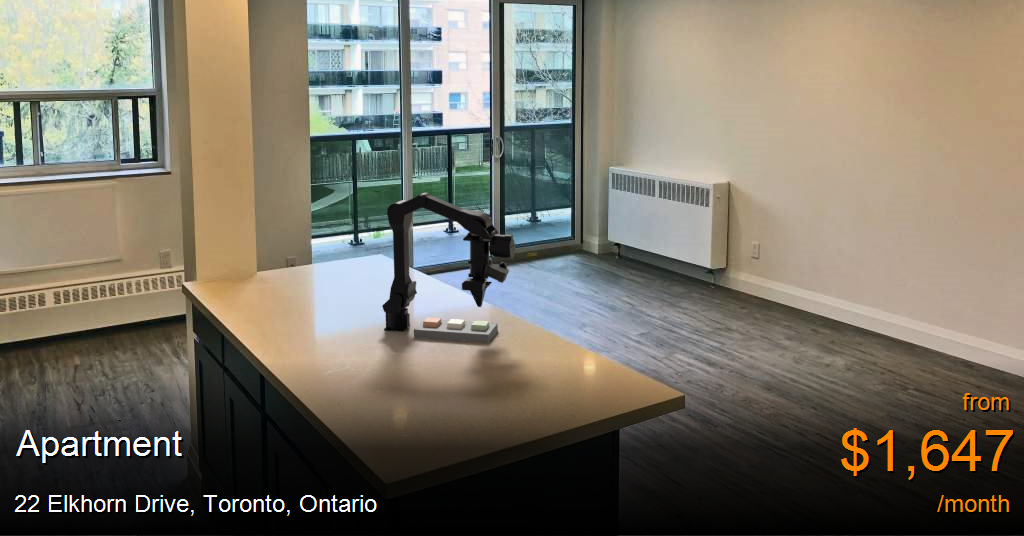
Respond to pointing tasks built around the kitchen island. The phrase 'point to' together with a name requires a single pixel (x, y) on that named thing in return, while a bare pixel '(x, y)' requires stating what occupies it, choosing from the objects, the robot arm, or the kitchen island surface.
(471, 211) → the robot arm
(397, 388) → the kitchen island surface
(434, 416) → the kitchen island surface
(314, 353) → the kitchen island surface
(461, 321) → the cream button
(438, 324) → the terracotta button
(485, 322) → the sage button
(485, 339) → the button panel
